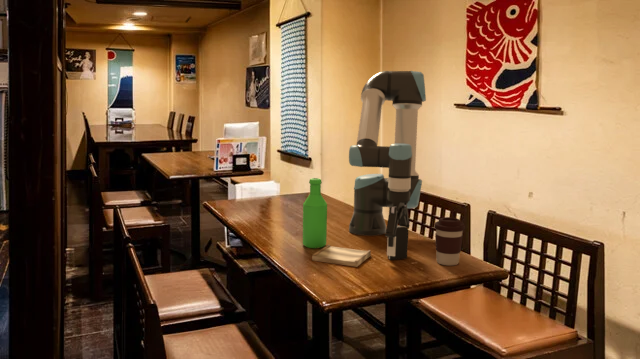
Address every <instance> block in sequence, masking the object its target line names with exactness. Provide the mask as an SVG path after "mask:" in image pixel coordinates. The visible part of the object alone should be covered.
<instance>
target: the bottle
mask: <svg viewBox="0 0 640 359" xmlns="http://www.w3.org/2000/svg"><path fill="white" fill-rule="evenodd" d="M308 183H309V194H308V196H307V197H306V199H305V200H304V202H303V204H302V245H303V246H304V247H305V248H309V249H322V248H324V247H326V246H327V239H328V238H327V230H328V229H327V227H328V203H327V201H326V200H325V198H324V197H323V195H322V194H321V193H322V190H321V189H322V186H321V185H322V179H321V178H319V177H313V178H309V182H308Z"/></svg>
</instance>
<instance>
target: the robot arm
mask: <svg viewBox="0 0 640 359" xmlns="http://www.w3.org/2000/svg"><path fill="white" fill-rule="evenodd" d="M425 85H426V84H425V76H424V73H423V72H422V71H416V70H415V71H413V70H382V71H380V72H378V73H376V74H374V75H372V76H371V77H370V78H369V79H368V80H367V81H366V83H365V84H364V86H363V87H362V89H361V94H360V101H361V103H362V104H361V111H360V119H359V124H358V133H357V138H356V144H354V145H353V144H352V145H350V146H349V150H348V162H349V165H350V166H352V167H358V168H383V169H384V168H386V169H388V177H385V176H384V174H383V173H368V174H363V175H362V174H361V175H359V176H357V177H356V178H354V187H353V190H354V191H353V192H354V193H353V195H354V196H353V212H352V216H351V219H350V222H349V225H348V231H349V233H351V234H354V235H359V236H365V237H366V236H369V237H371V236H372V237H373V236H382V235H384V237H386V243H387V244H386V256H387V257H388V256H395V251H396V237H395V234H396V230H397V226H405V227H407V229H409V228H410V224H409V223H410V222H409V212H408V209H416V208H417V207H418V206H419V201H420V195H421V191H422V183H423V180H422V179H421V178H420V177H419V176H420V174H419V173H418V172H417V171H416V162H417V161H416V160H417V158H416V157H417V141H418V140H417V139H418V137H417V136H418V117H419V116H418V113H419V110H420V109H421V108H422V107H423V102H426V100H427V96H426V86H425ZM385 101H390V102H391V101H392V102H391V103H392V106H393V108H394V109H395V122H394V123H395V126H394V143H391V144H390V145H389V146H385V145H384V146H380V145H378V142H379V135H380V134H379V133H380V125H381V118H382V117H381V116H382V108H383V105H384V104H385ZM384 208H388V210H389V211H388V217H387V221H386V220H385V217H384V213H383V210H384ZM386 222H387V224H386ZM398 224H399V225H398Z"/></svg>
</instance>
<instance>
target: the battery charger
mask: <svg viewBox="0 0 640 359" xmlns="http://www.w3.org/2000/svg"><path fill="white" fill-rule="evenodd" d="M395 237H396V251H395V256H387V259H389V260H390V261H394V260H396V261H397V260H405V259H408V249H409V248H408V247H409V228H407V227H405V226H400V225H398V226H397V230H396V234H395Z"/></svg>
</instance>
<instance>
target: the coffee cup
mask: <svg viewBox="0 0 640 359" xmlns="http://www.w3.org/2000/svg"><path fill="white" fill-rule="evenodd" d="M433 224H434V225H433V227H434V229H435V234H434V235H435V236H434V237H435V251H436V252H435V253H436V262H437V264H439V265H442V266H446V267H447V266H451V267H452V266H456V265H458V264H459V262H460V255H461V252H462V245H463V232H464V231H465V228H466V225H465V224H464V223H463V222H462V221H461V219H459V218H456V217H447V216H446V217H445V216H444V217H441V218H439V219H438V220H437V221H434V223H433Z"/></svg>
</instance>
